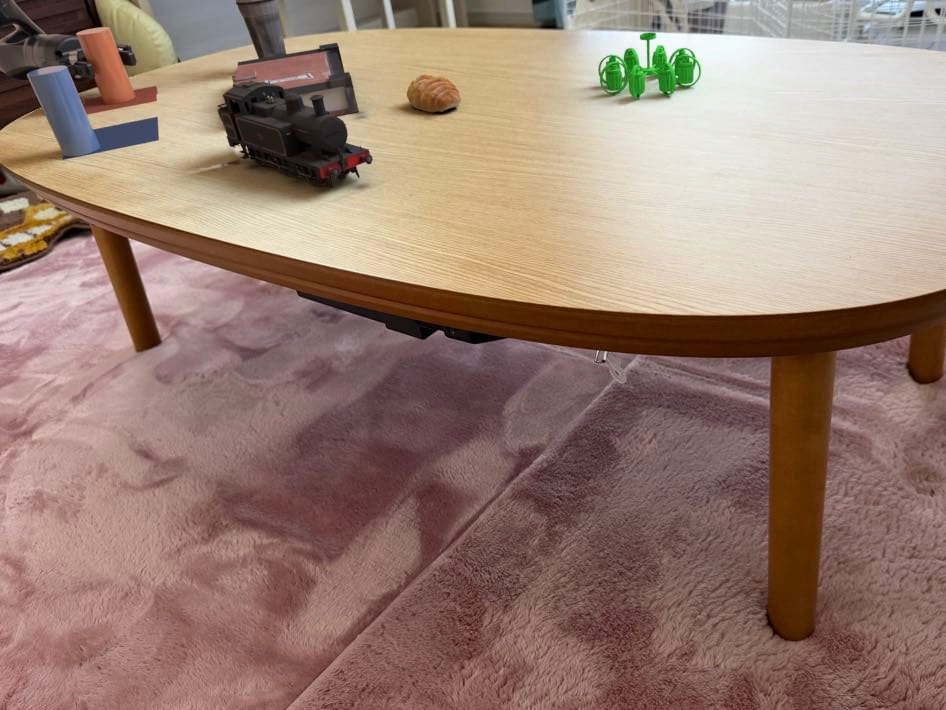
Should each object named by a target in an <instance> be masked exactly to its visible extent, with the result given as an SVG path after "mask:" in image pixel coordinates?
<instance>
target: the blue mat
mask: <svg viewBox="0 0 946 710" xmlns="http://www.w3.org/2000/svg"><path fill="white" fill-rule="evenodd" d="M93 130H94V132H95V134H96V137H97V139H98V142H99V144H100V149H98V150H97V151H95V152H92V153H90V154H86V155H82V156H77V157H65V156H64V155H63V156H62V161H65V160H70V159H73V158H74V159H75V158H81V157H84V156H91V155H94V154H99V153H104V152H108V151H113V150H118V149H125V148H129V147H134V146H137V145H142V144H147V143H152V142H153V143H154V142H158V141H160V134H159V132H160V131H159V117H158V116H154V117H149V118H144V119H139V120H134V121H129V122H124V123H123V122H122V123H118V124H114V125H108V126H105V127H104V126H103V127H99V128H93Z"/></svg>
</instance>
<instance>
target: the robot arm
mask: <svg viewBox="0 0 946 710" xmlns="http://www.w3.org/2000/svg"><path fill="white" fill-rule="evenodd" d="M9 25H13V26H14V27H15V30H14V31H12V32H11V33H9V34H8V35H6V36H4V37H2V38H1V39H0V71H1V72H3V73H4V74H5V75H7V76H9V77H10V78H12V79H15V80H18V81H30V80H29V78H28V76H27V74H28V73H29V72H31V71H34V70H37V69H41V68H46V67H51V66H66V67H67V68H68V70H69V73H70V75H71V78H72V80H73V82H74V83H77V84H82V83H83V84H84V83H88V82H89V81H91V80H93V79H94V77H95V72H94V70H93V68H92V65H91V64H90V63H88V62H87V60H86V58H85V55H84V53H83V50H82V48H81V45H80V43H79V40H78V38H77V35H69V34H68V35H67V34H57V33H51V34H46V32H45V31H44V30H43V29H41V27H39V26H38V25H37V24H36V23H35V22H34V21H32V19H30V18H29V17H28V15H26V13H25V12H24V11H23V10H22V9H21V8H20V7H19V5H18V4H17V3H16V2H15V0H0V28H2V27H6V26H9ZM116 46H117V48H118V51H119V54H120V56H121V59H122V61H123V64H124V66H126V67H135V66H137V62H138V61H137V58H136V56H135V53H134V52H133V49H132V46H131V45H128V44H123V43H116Z"/></svg>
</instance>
